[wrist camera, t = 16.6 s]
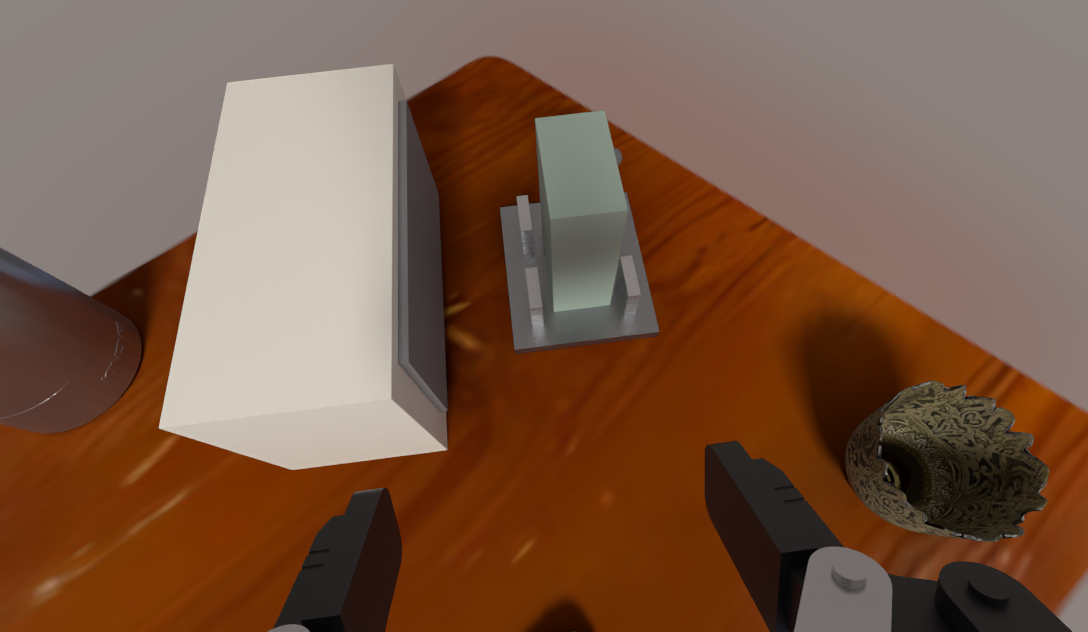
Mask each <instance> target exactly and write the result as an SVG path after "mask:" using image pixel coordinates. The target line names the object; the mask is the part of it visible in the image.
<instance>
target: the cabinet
mask: <svg viewBox="0 0 1088 632" xmlns="http://www.w3.org/2000/svg"><path fill="white" fill-rule="evenodd" d="M446 411H448V404H447V380H446V356H445V332H444V308H443V284H442V260H441V236H440V212H439V194H438V191H437V188H436V185H435V182H434V179H433V176H432V173H431V170H430V167H429V164H428V162H427V159H426V156H425V153H424V150H423V147H422V144H421V141H420V138H419V135H418V133H417V130H416V127H415V124H414V121H413V118H412V115H411V112H410V109H409V106H408V104H407V101H406V99H405V97H404V93H403V91H402V88H401V85H400V82H399V79H398V76H397V73H396V70H395V67H394V65H393V64H388V65H379V66H370V67H361V68H353V69H344V70H334V71H326V72H317V73H308V74H299V75H291V76H281V77H272V78H264V79H255V80H246V81H237V82H228V83H227V87H226V92H225V97H224V102H223V108H222V112H221V118H220V122H219V128H218V133H217V138H216V142H215V148H214V153H213V158H212V163H211V168H210V173H209V178H208V183H207V188H206V193H205V198H204V203H203V208H202V213H201V219H200V223H199V228H198V233H197V238H196V243H195V248H194V253H193V258H192V263H191V268H190V273H189V278H188V283H187V288H186V293H185V299H184V304H183V309H182V314H181V319H180V324H179V329H178V334H177V339H176V344H175V349H174V354H173V359H172V364H171V369H170V374H169V379H168V384H167V389H166V394H165V399H164V404H163V409H162V414H161V419H160V424H159V429H163V430H166V431H169V432H172V433H175V434H179V435H182V436H185V437H188V438H191V439H195V440H198V441H201V442H204V443H207V444H211V445H214V446H217V447H220V448H223V449H227V450H230V451H233V452H236V453H239V454H243V455H246V456H249V457H252V458H255V459H259V460H262V461H265V462H268V463H271V464H275V465H278V466H281V467H284V468H287V469H291V470H296V469H304V468H312V467H320V466H327V465H335V464H343V463H351V462H358V461H366V460H374V459H382V458H390V457H397V456H405V455H413V454H421V453H428V452H436V451H444V450H448V447H447V422H446Z"/></svg>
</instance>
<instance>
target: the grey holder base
mask: <svg viewBox="0 0 1088 632" xmlns="http://www.w3.org/2000/svg"><path fill="white" fill-rule="evenodd" d="M624 195H625V200H626V204H627V208H628V213H627V218H626V223H625V228H624V234H623V239H622V244H621V250H620V255H619V260H618V265H617V271H616V276H615V281H614V287H613V292H612V297H611V302H610V305H606V306H598V307H590V308H582V309H573V310H565V311H557V312H554V310H553V303H552V296H551V289H550V282H549V275H548V268H547V261H546V254H545V247H544V240H543V233H542V221H541V206H540V203H533V204H529V202H528V195H524V196H516V197H517V205H516V206H508V207H500V213H501V222H502V232H503V242H504V252H505V261H506V271H507V281H508V290H509V300H510V310H511V319H512V329H513V339H514V348H515V353H516V354H519V353H527V352H535V351H543V350H551V349H559V348H567V347H575V346H583V345H591V344H599V343H607V342H615V341H623V340H631V339H639V338H647V337H655V336H658V334H659V328H658V324H657V320H656V315H655V311H654V307H653V303H652V298H651V294H650V290H649V286H648V281H647V277H646V273H645V269H644V264H643V260H642V256H641V252H640V247H639V243H638V239H637V235H636V230H635V226H634V222H633V218H632V213H631V209H630V205H629V201H628V196H627V192H626V193H624Z"/></svg>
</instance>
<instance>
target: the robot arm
mask: <svg viewBox="0 0 1088 632" xmlns="http://www.w3.org/2000/svg"><path fill="white" fill-rule="evenodd" d="M141 350H142V345H141V338H140V334H139V332H138V330H137V328H136V326H135V325H134V324H133V323H132V321H131V320H130V319H129V318H127V317H126V316H124V315H122V314H121V313H119V312H117V311H115V310H113V309H112V308H110V307H108V306H106V305H104V304H102V303H101V302H99V301H97V300H95V299H93V298H91V297H90V296H88V295H86V294H84V293H82V292H81V291H79V290H77V289H75V288H74V287H72V286H70V285H68V284H66V283H65V282H63V281H61V280H59V279H57V278H55V277H54V276H52V275H50V274H48V273H46V272H44V271H43V270H41V269H39V268H37V267H35V266H33V265H32V264H30V263H28V262H26V261H24V260H22V259H21V258H19V257H17V256H15V255H13V254H11V253H10V252H8V251H6V250H4V249H2V248H0V424H3V425H7V426H11V427H15V428H20V429H24V430H28V431H33V432H40V433H56V432H64V431H67V430H70V429H73V428H77V427H79V426H81V425H83V424H85V423H87V422H89V421H91V420H93V419H95V418H96V417H97V416H99V415H100V414H102V413H103V412H105V411H106V410H107V409H108V408H109V407H110V406H112V405H113V404H114V403H115V402H116V401H117V400H118V399H119V398H120V397H121V395H122V394H123V393H124V391H125V390H126V389H127V388H128V386H129V385H130V383H131V381H132V379H133V377H134V376H135V374H136V371H137V368H138V366H139V363H140V359H141ZM705 501H706V506H707V510H708V513H709V516H710V519H711V521H712V523H713V525H714V527H715V529H716V530H717V532H718V534H719V536H720V538H721V540H722V542H723V544H724V546H725V547H726V549H727V551H728V553H729V555H730V557H731V559H732V561H733V563H734V564H735V566H736V568H737V570H738V572H739V574H740V576H741V578H742V580H743V581H744V583H745V585H746V587H747V589H748V591H749V593H750V595H751V597H752V598H753V600H754V602H755V604H756V606H757V608H758V610H759V612H760V614H761V615H762V617H763V619H764V621H765V623H766V625H767V627H768V629H769V631H770V632H1072V631H1071V630H1070V629H1069V628H1068V627H1067V626H1065V624H1064V623H1063V622H1062V621H1061V620H1059V619H1058V618H1057V617H1056V616H1055V615H1054V614H1053V613H1052V612H1051V611H1050V610H1049V609H1048V608H1047V607H1046V606H1045V605H1044V604H1043V603H1042V602H1040V601H1039V600H1038V599H1037V598H1036V597H1035V596H1034V595H1033V594H1032V593H1031V592H1030V591H1029V590H1028V589H1027V588H1026V587H1024V586H1023V585H1022V584H1021V583H1019V582H1018V581H1017V580H1015V579H1014V578H1012V577H1010V576H1009V575H1007V574H1005V573H1003V572H1001V571H999V570H997V569H994V568H992V567H989V566H986V565H983V564H979V563H974V562H966V561H961V562H953V563H950V564H947V565H946V566H944V567H943V568H942V569H941V571H940V574H939V579H938V581H933V580H925V579H917V578H909V577H901V576H895V575H891V574H887V573H886V572H885V570H884V569H883V568H882V567H881V566H880V565H879V564H878V563H877V562H875V561H874V560H873V559H871V558H870V557H868V556H866V555H864V554H862V553H860V552H858V551H855V550H852V549H848V548H844V547H843V545H842V544H841V543H840V542H839V540H838V539H837V538H836V537H835V536H834V534H833V533H832V532H831V531H830V529H829V528H828V527H827V526H826V524H825V523H824V522H823V521H822V520H821V518H820V517H819V516H818V515H817V513H816V512H815V511H814V510H813V508H812V507H811V506H810V505H809V504H808V502H807V501H804V497H803V496H802V495H801V494H800V492H799V491H798V490H797V489H796V488H794V485H793V484H792V483H791V481H790V480H789V479H788V478H787V476H786V475H785V474H784V473H783V472H782V470H780V469H779V468H777V467H776V466H774V465H772V464H771V463H769V462H768V461H766V460H764V459H763V458H761V459H754V460H752V459H751V458H750V456H749V455H748V454H747V452H746V451H745V450H744V448H743V447H742V446H741V444H740V443H739V442H738V441H731V442H724V443H717V444H709V445H707V446H706V448H705ZM401 558H402V542H401V536H400V532H399V528H398V524H397V520H396V516H395V512H394V509H393V505H392V501H391V497H390V494H389V491H388V489H387V488H380V489H372V490H365V491H358V492H355V493H354V494H353V495H352V497H351V500H350V502H349V505H348V507H347V510H346V512H345V514H344V515H340V516H333V517H332V518H331V519H330V520H329V521H328V522H327V524H326V525H325V526H324V527H323V528H322V529H321V530H320V531H319V532H318V533H317V535H316V537H315V539H314V542H313V544H312V546H311V548H310V550H309V555H307V557H306V559H305V561H304V563H303V565H302V571H300V572H299V574H298V576H297V579H296V581H295V583H294V585H293V587H292V589H291V592H290V594H289V596H288V598H287V600H286V602H285V605H284V607H283V609H282V611H281V613H280V615H279V618H278V620H277V622H276V624H275V626H274V628H273V629H272V630H270V631H268V632H385V628H386V624H387V620H388V615H389V611H390V607H391V603H392V598H393V594H394V590H395V586H396V582H397V577H398V573H399V569H400V565H401Z"/></svg>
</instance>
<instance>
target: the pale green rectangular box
mask: <svg viewBox="0 0 1088 632" xmlns="http://www.w3.org/2000/svg"><path fill="white" fill-rule="evenodd" d="M535 127H536V143H537V159H538V174H539V190H540V206H541V221H542V233H543V240H544V247H545V254H546V261H547V268H548V275H549V282H550V289H551V296H552V303H553V310H554V312H557V311H565V310H573V309H582V308H590V307H598V306H606V305H610V302H611V297H612V292H613V287H614V281H615V276H616V271H617V265H618V260H619V255H620V250H621V244H622V239H623V234H624V228H625V223H626V218H627V213H628V208H627V204H626V200H625V195H624V191H623V187H622V182H621V178H620V174H619V170H618V165H619V164H620V163H621V160H622V154H621V152H620V151H619V150H618V149H617V148H614V147H613V144H612V139H611V135H610V131H609V127H608V122H607V118H606V114H605V111H604V110H603V111H594V112H586V113H577V114H569V115H560V116H551V117H543V118H535Z"/></svg>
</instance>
